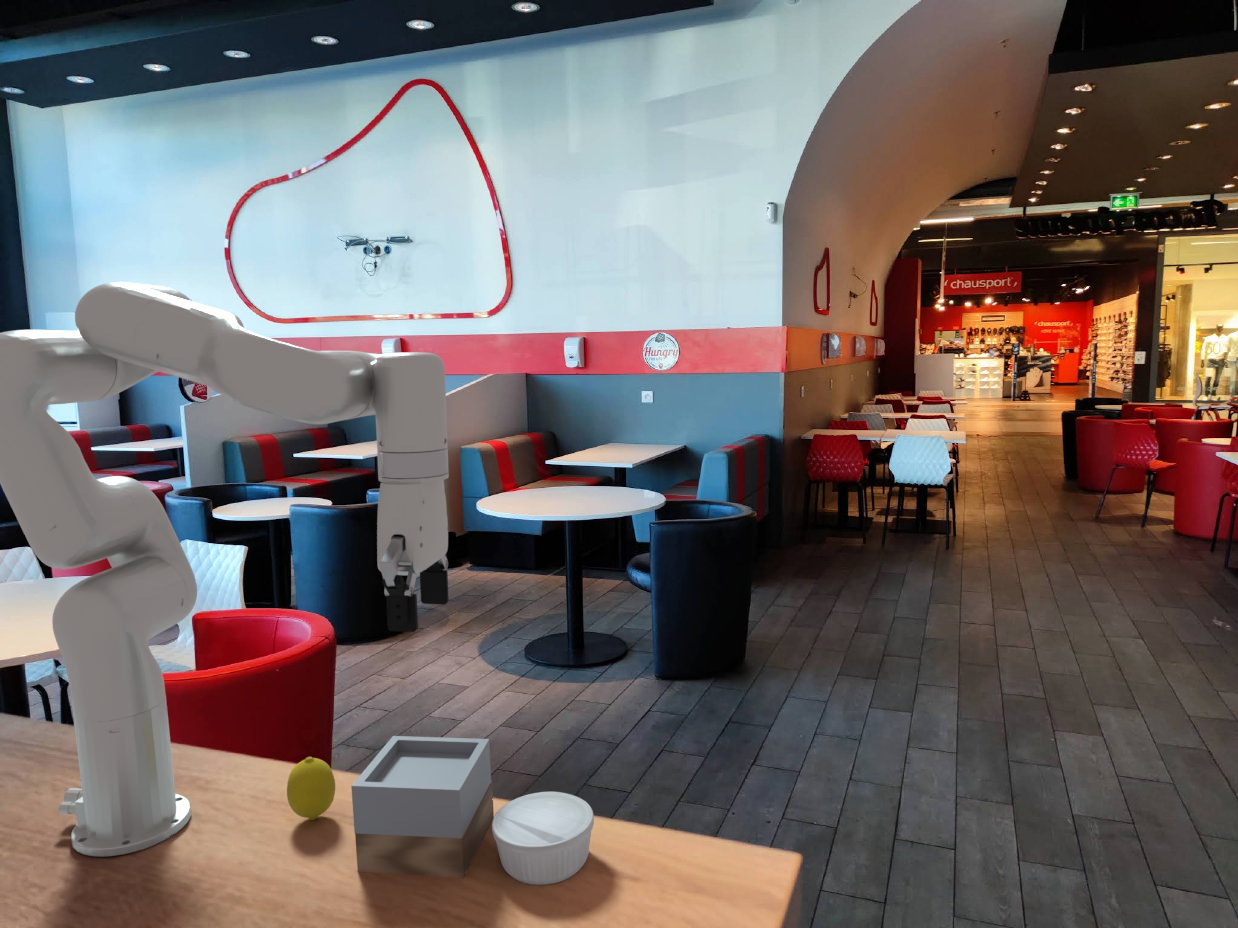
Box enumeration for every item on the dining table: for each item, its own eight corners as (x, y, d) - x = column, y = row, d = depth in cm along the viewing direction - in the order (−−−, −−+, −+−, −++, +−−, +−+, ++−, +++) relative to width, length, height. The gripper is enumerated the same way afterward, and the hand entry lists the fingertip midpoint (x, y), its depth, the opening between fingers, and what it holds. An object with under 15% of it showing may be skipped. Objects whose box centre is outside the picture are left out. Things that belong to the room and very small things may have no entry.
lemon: (322, 833, 102) (317, 770, 101) (279, 829, 103) (274, 766, 102) (345, 809, 107) (341, 748, 106) (305, 805, 108) (301, 745, 107)
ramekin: (485, 892, 90) (483, 845, 90) (502, 832, 101) (500, 790, 101) (591, 892, 90) (590, 845, 89) (597, 832, 101) (596, 790, 100)
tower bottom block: (357, 874, 94) (355, 831, 94) (399, 815, 106) (397, 777, 105) (463, 881, 93) (461, 837, 92) (493, 820, 105) (492, 781, 104)
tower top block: (354, 833, 93) (351, 785, 93) (395, 778, 105) (393, 735, 104) (461, 838, 92) (459, 789, 91) (491, 781, 104) (489, 738, 103)
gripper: (410, 455, 103) (416, 593, 106) (345, 477, 86) (354, 641, 89) (470, 455, 102) (475, 595, 105) (417, 478, 85) (424, 644, 88)
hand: (419, 616), depth 97 cm, fingers open, 9 cm apart
